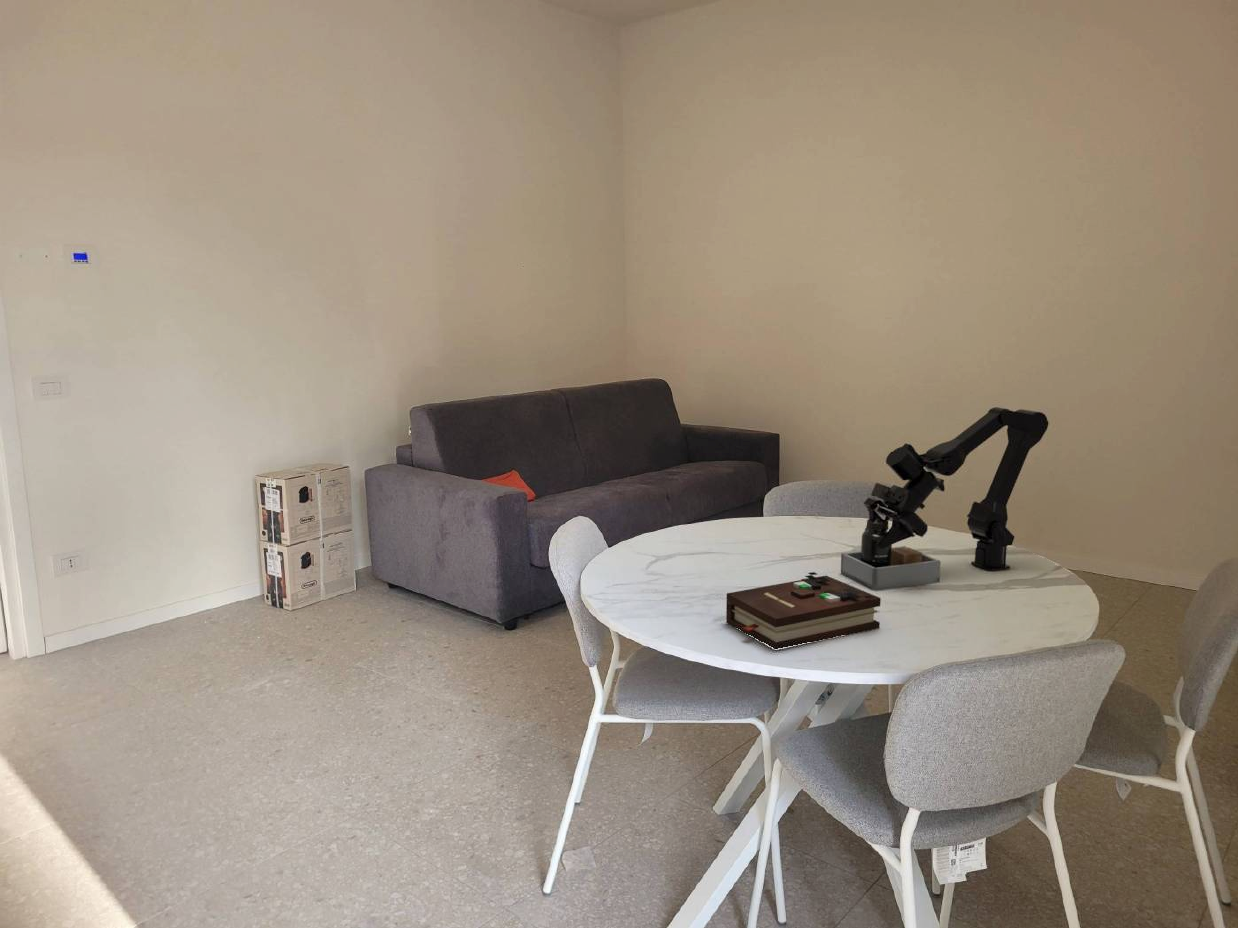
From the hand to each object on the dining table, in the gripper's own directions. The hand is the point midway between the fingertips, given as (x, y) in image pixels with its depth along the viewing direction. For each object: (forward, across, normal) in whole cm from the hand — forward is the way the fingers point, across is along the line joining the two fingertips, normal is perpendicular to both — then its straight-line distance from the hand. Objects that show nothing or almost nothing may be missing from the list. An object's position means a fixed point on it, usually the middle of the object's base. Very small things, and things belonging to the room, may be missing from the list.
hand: (871, 543), depth 211 cm
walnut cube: (-1, 0, +12) cm, 12 cm away
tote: (+3, 0, +10) cm, 10 cm away
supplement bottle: (+4, 0, +6) cm, 7 cm away
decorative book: (+27, +22, -14) cm, 37 cm away
